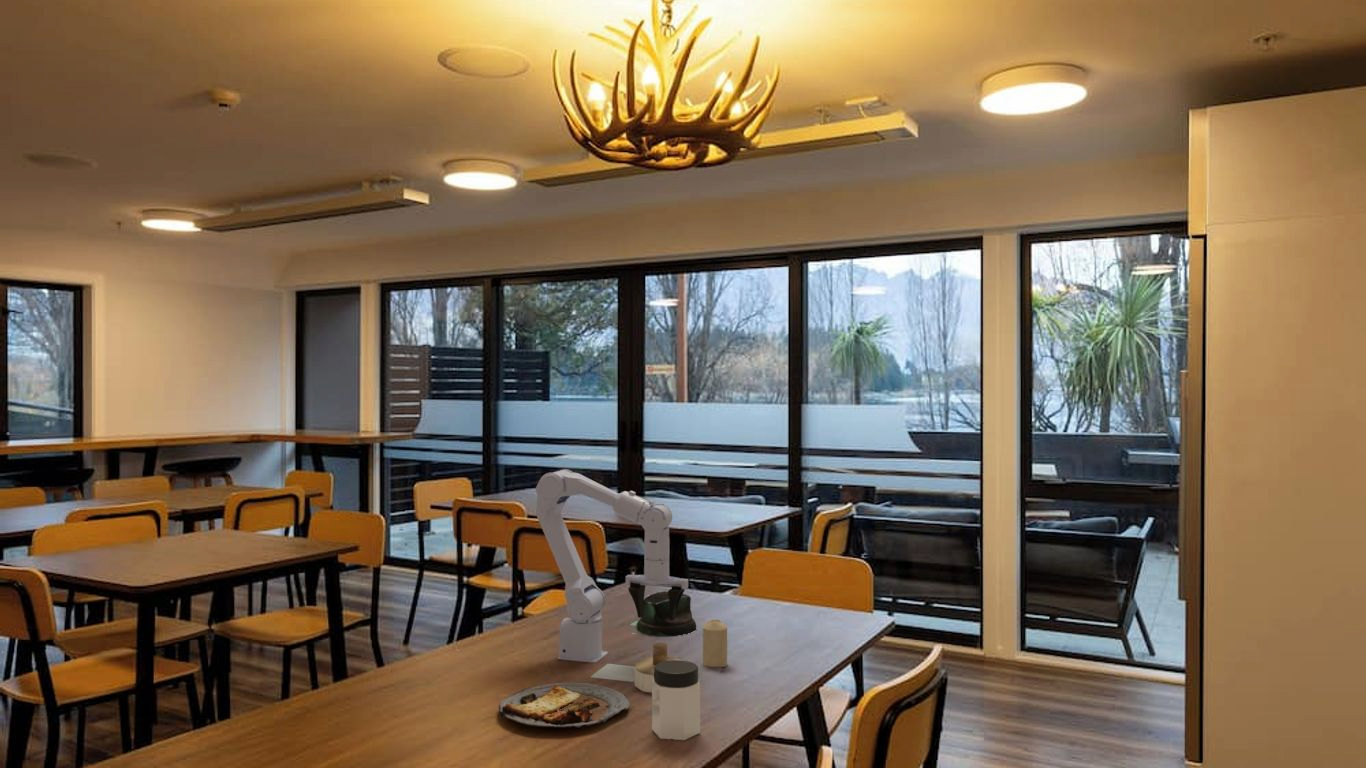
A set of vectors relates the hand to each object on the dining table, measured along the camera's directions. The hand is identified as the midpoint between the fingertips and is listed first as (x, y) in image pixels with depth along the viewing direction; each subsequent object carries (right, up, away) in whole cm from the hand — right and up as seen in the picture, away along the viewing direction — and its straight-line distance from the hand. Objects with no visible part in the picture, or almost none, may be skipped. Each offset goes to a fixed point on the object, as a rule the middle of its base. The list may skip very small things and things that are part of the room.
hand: (656, 618), depth 211 cm
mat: (-8, -10, -8) cm, 15 cm away
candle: (+13, -11, -1) cm, 17 cm away
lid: (+1, -6, -16) cm, 17 cm away
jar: (+5, -11, -41) cm, 43 cm away
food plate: (-17, -11, -31) cm, 37 cm away
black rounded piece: (+2, -11, +30) cm, 32 cm away
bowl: (+1, -10, -16) cm, 19 cm away
